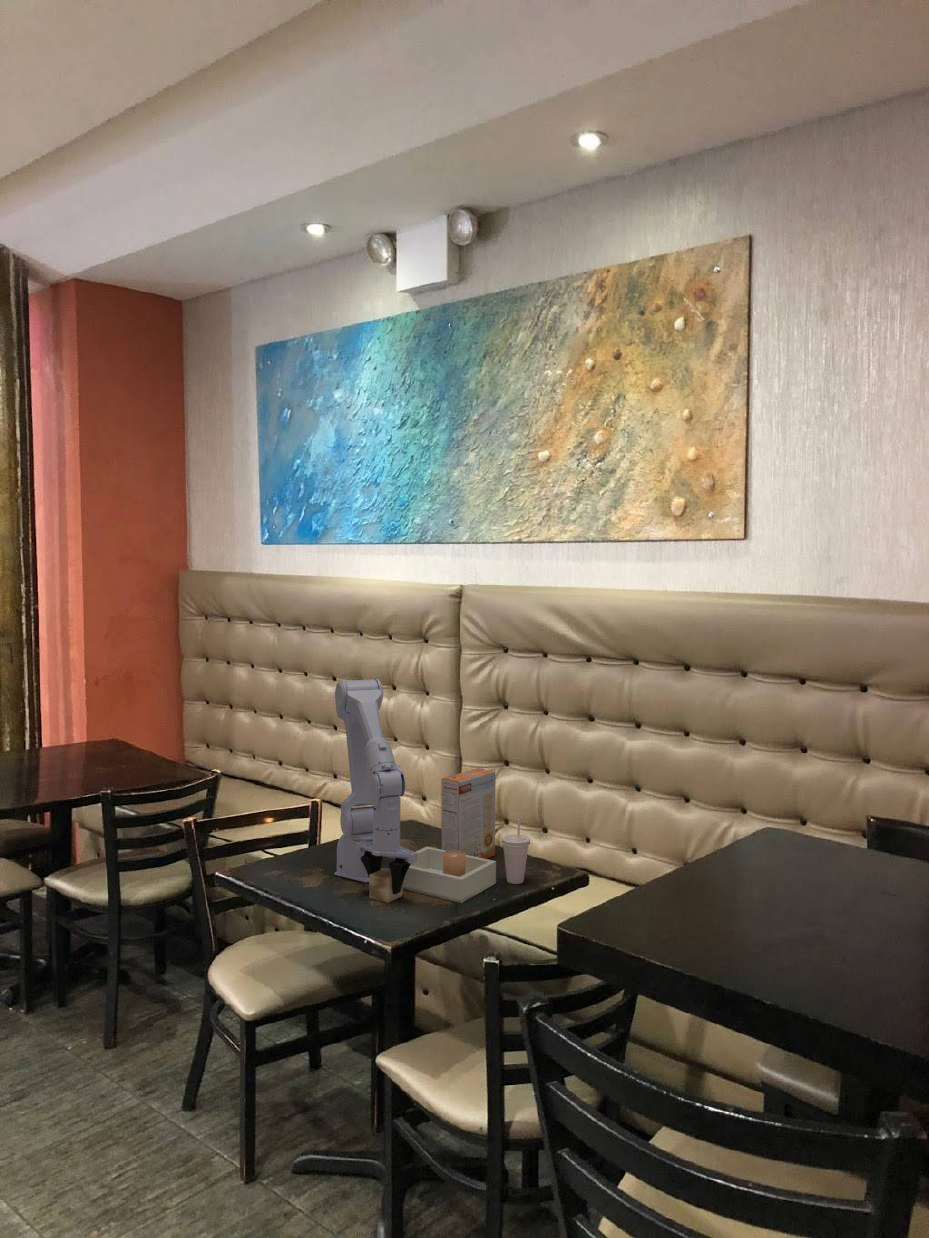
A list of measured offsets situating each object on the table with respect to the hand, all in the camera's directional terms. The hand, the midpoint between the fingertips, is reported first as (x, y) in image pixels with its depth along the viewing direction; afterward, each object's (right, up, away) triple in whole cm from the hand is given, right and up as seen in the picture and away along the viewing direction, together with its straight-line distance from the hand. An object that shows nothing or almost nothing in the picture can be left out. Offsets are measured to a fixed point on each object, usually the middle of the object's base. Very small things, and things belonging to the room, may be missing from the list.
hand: (385, 890), depth 201 cm
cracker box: (+17, 0, +25) cm, 30 cm away
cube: (0, -1, 0) cm, 1 cm away
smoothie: (+28, -1, +11) cm, 30 cm away
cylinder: (+14, -1, +6) cm, 16 cm away
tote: (+12, -1, +8) cm, 14 cm away
